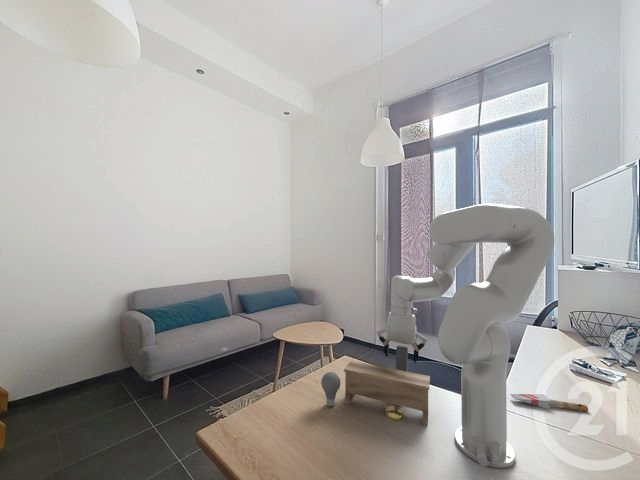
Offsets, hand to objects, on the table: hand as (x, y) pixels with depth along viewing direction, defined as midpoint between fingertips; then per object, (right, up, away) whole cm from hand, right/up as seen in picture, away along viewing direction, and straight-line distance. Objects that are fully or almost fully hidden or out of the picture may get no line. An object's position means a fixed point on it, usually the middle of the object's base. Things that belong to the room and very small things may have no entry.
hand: (400, 358), depth 94 cm
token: (-7, -10, -16) cm, 20 cm away
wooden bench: (-9, -10, -13) cm, 18 cm away
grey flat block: (-1, -10, -5) cm, 11 cm away
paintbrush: (+43, -11, -11) cm, 46 cm away
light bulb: (-26, -10, -12) cm, 30 cm away
